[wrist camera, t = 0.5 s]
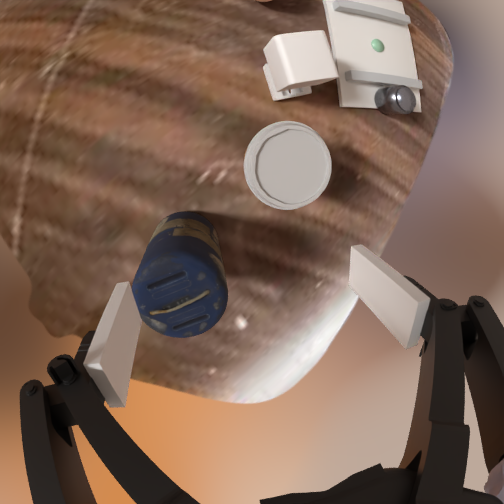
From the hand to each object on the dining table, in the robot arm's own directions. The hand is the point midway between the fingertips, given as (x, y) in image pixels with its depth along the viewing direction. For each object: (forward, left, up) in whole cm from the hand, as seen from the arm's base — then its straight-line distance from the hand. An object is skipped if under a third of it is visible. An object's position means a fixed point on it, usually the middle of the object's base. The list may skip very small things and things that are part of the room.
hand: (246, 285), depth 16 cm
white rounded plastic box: (-16, +11, -26) cm, 33 cm away
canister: (+6, -5, -26) cm, 27 cm away
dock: (-22, +27, -26) cm, 44 cm away
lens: (-13, +28, -25) cm, 39 cm away
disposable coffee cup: (-4, +8, -26) cm, 27 cm away
